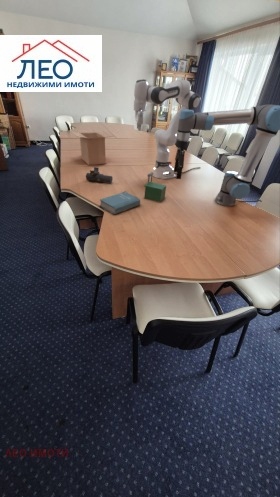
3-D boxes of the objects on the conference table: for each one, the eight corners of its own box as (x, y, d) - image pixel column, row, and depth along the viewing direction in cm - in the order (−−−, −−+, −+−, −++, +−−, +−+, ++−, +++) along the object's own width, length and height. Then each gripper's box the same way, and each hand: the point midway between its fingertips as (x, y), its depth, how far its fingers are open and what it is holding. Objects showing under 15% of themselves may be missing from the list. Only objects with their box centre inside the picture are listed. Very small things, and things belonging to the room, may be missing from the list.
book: (125, 198, 165) (125, 191, 162) (140, 205, 156) (140, 199, 153) (100, 206, 151) (99, 199, 149) (115, 215, 143) (115, 207, 140)
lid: (144, 186, 162) (145, 174, 157) (149, 182, 169) (150, 170, 164) (161, 190, 158) (163, 178, 152) (166, 186, 165) (167, 174, 159)
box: (116, 165, 229) (116, 136, 213) (83, 168, 214) (80, 137, 198) (102, 154, 259) (101, 128, 243) (71, 156, 244) (68, 129, 228)
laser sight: (109, 185, 184) (109, 173, 178) (84, 181, 187) (83, 169, 181) (113, 181, 192) (113, 169, 186) (88, 177, 195) (87, 166, 189)
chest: (144, 198, 167) (145, 186, 162) (149, 194, 174) (150, 182, 169) (160, 202, 163) (161, 190, 158) (164, 197, 170) (166, 186, 165)
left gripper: (145, 109, 150) (144, 132, 158) (142, 107, 166) (141, 127, 174) (136, 108, 149) (135, 131, 157) (134, 106, 165) (133, 127, 173)
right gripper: (174, 135, 143) (169, 169, 155) (179, 143, 123) (173, 181, 135) (185, 136, 143) (180, 169, 155) (192, 144, 123) (185, 182, 135)
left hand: (138, 129), depth 166 cm, fingers open, 8 cm apart
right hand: (177, 175), depth 145 cm, fingers open, 13 cm apart
